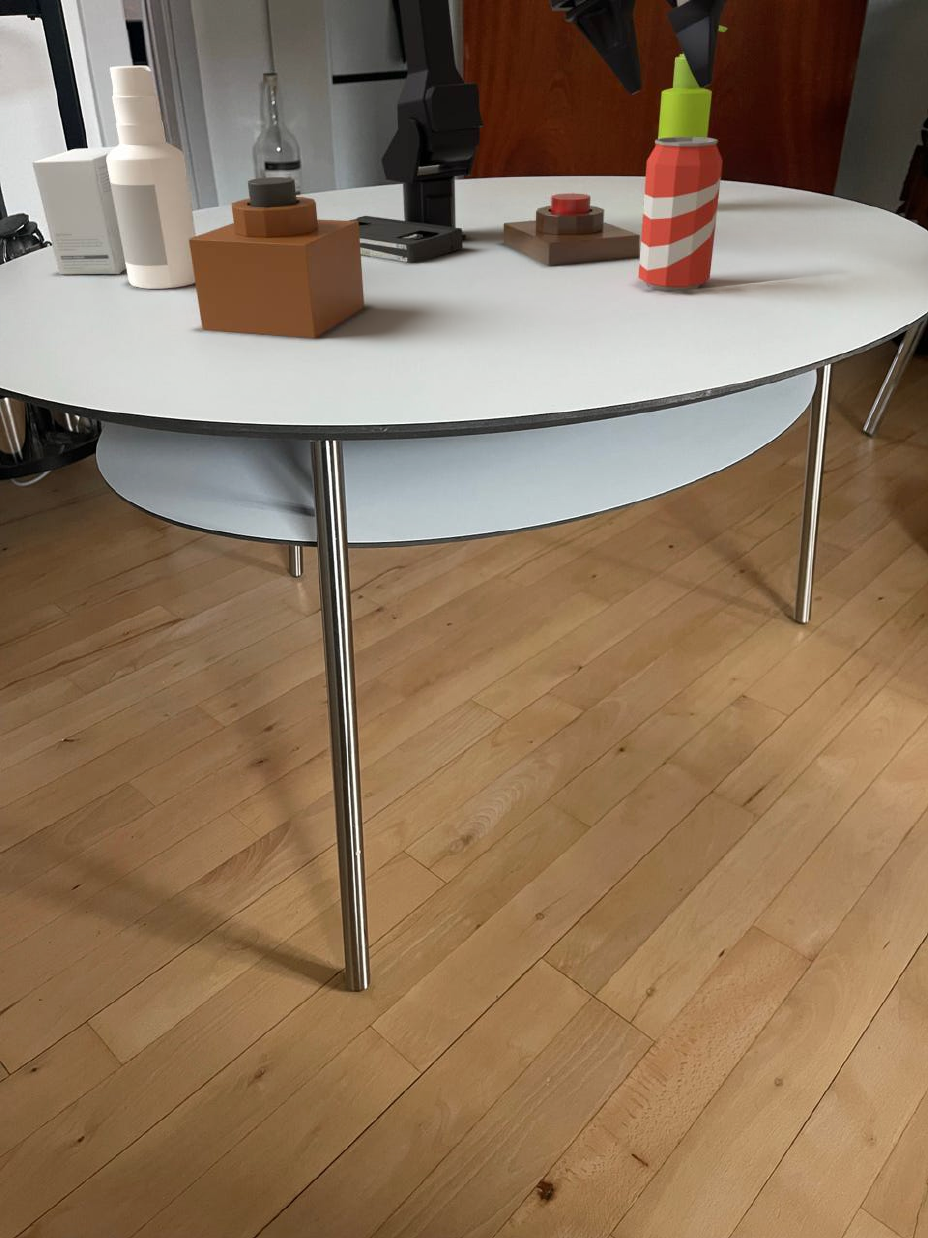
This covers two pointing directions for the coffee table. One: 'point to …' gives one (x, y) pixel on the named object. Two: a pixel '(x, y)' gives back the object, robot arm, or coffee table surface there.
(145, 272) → the spray bottle
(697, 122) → the soap dispenser
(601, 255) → the switch box
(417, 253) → the vhs tape
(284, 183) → the dark grey button
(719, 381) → the coffee table surface
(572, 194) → the red button
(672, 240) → the beverage can
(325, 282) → the brown push button box
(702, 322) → the coffee table surface
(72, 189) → the cosmetics box
